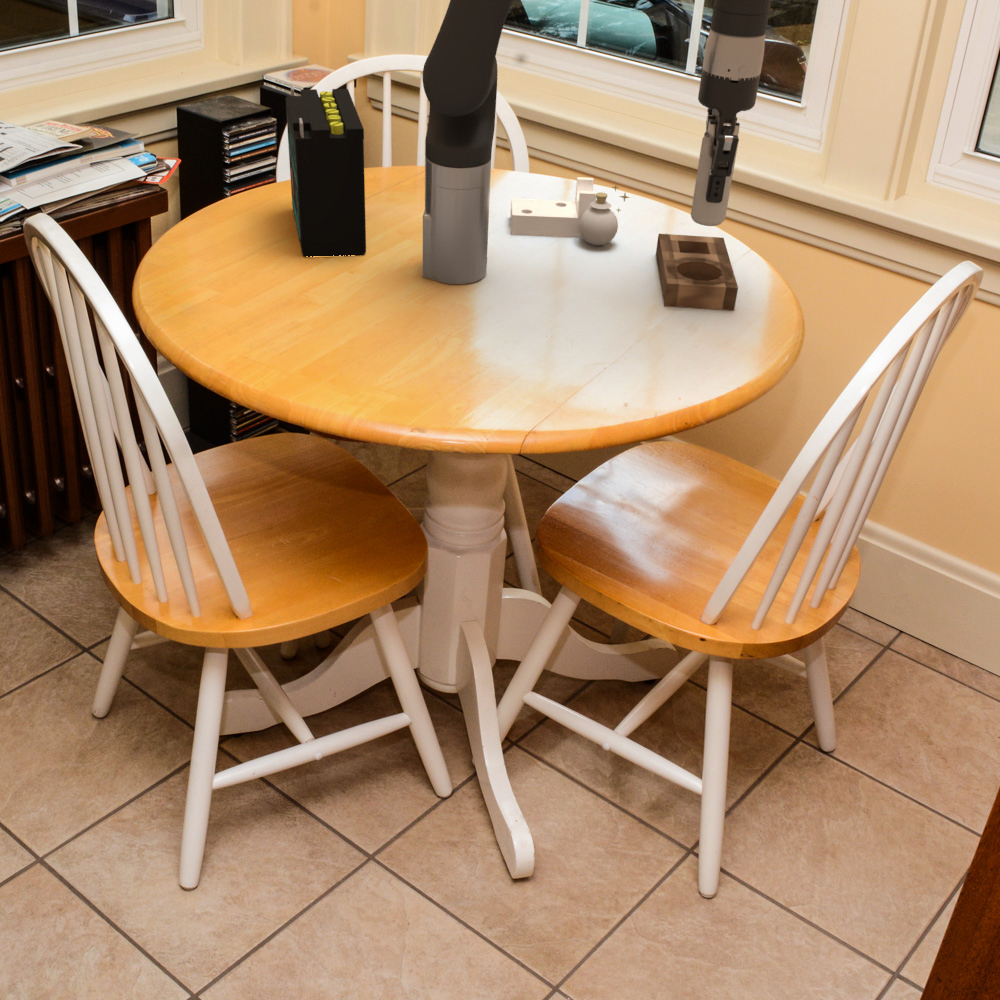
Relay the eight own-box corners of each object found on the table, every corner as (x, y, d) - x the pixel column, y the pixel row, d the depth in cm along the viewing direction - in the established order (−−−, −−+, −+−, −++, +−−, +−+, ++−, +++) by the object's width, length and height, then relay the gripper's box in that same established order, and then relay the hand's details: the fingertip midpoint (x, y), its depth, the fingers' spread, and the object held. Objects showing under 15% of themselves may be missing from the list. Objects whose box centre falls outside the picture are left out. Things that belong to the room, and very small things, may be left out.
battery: (292, 209, 182) (284, 84, 171) (351, 207, 184) (347, 83, 173) (302, 258, 167) (294, 124, 156) (366, 255, 169) (363, 122, 158)
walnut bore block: (664, 306, 160) (667, 283, 158) (655, 254, 175) (658, 233, 172) (733, 310, 160) (738, 288, 158) (719, 258, 174) (723, 237, 172)
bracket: (588, 222, 185) (593, 177, 180) (592, 239, 179) (596, 193, 175) (510, 219, 184) (512, 174, 180) (511, 236, 178) (513, 190, 174)
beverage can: (723, 229, 155) (738, 143, 148) (688, 224, 156) (702, 139, 149) (725, 216, 159) (739, 132, 152) (691, 212, 160) (704, 128, 153)
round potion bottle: (578, 234, 180) (584, 173, 174) (624, 238, 179) (632, 177, 173) (576, 249, 175) (582, 187, 169) (624, 253, 174) (631, 191, 168)
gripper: (697, 51, 151) (679, 175, 161) (708, 81, 139) (688, 212, 149) (753, 54, 151) (732, 178, 161) (768, 85, 139) (745, 215, 149)
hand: (711, 194), depth 155 cm, fingers closed on beverage can, 4 cm apart
